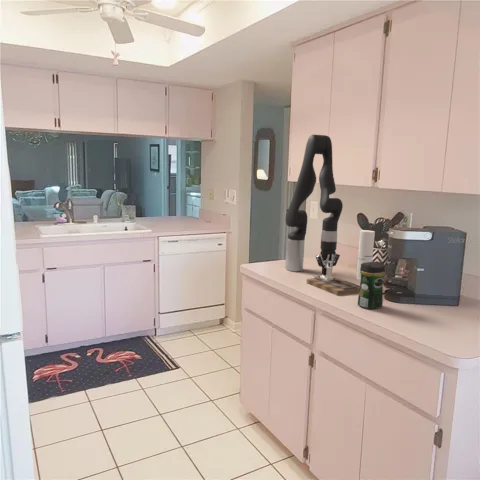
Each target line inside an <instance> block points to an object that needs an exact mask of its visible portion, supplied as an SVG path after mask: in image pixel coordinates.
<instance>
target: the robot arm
mask: <svg viewBox="0 0 480 480" xmlns="http://www.w3.org/2000/svg"><path fill="white" fill-rule="evenodd" d="M316 155H321V156H322V159H323V162H322V165H321V169H320V172H319V176H318V182H319V183H318V184H319V188H320V200H319V209H320V210H321V212H322V213H324V214H329V216H328V217H325V218H323V219H322V225H321V226H322V227H321V235H320V254H318V255H315V258H316V263H317V265H318V267H321V276H322V275H324V276H326V270H327V268H326V267H327V266H328V267H332V268H333V267H335V266H337V263H338V261H339V259H340V256H341V255H340V254H338V253H336V250H337V246H338V245H337V244H338V225H339V219H340V217H341V214H342V211H343V207H344V206H343V201H342V200H341V199H340V198H338V197H330V195H333V194H334V193H336V190H337V188H336V183H335V177H334V170H333V143H332V139H331V137H330V136H328V135H326V134H325V135H324V134H311V135H309V137H308V139H307V142H306V145H305V150H304V156H303V161H302V165H301V168H300V172H299V175H298V178H297V180H296V184H295V189H294V192H293V196H292V199H291V201H290V204H289V206H288V208H287V211H286V214H285V224H286V226H287V227H289V228H295V229H294V230H293V231H291V232H289V233H288V234H287V242H286V243H287V246H286V247H287V248H286V252H285V267H284V268H285V269H286V271H289V272H302V271H304V258H305V240H306V239H305V238H306V236H307V228H308V227H307V226H308V214H307V211H306V210H304V209H300V208H301V206H302V204H303V203H304V202H305V201H306V200H307V199H308V198H309V197H310V196H312V194H313V192H314V190H315V186H316V183H317V174H316V172H315V171H316V170H315V167H314V160H315V157H316Z"/></svg>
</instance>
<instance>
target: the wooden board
mask: <svg viewBox="0 0 480 480" xmlns="http://www.w3.org/2000/svg"><path fill="white" fill-rule="evenodd" d="M320 276H321V275H316V276H314V278H313V277H311V278H307V279H306V284H308V285H311V286H313V287H316V288H318V289H320V290H322V291H326V292H328V293H330V294H333V295H335V296H341V295H347V294H348V295H349V294H355V293H359V291H360V285H359V284H357V283H356V284H355V283H353V282H350V281H347V280H344V279H342V278H339V277H336V276H333V275H331V277H332V278H333V280H331V281H327V280H324V279H322V278H320Z"/></svg>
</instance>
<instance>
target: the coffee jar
mask: <svg viewBox="0 0 480 480" xmlns="http://www.w3.org/2000/svg"><path fill="white" fill-rule="evenodd" d="M360 273H361V280H360V285H359V286H360V291H359V292H358V298H357V305H358V306H359V307H360V308H363V309H368V310H373V309H375V310H376V309H379V308H382V306H383V304H384V301H383V300H384V299H383V298H384V297H383V292H384V291H383V290H384V289H383V288H384V286H383V285H384V277H385V273H386V265H385V263H383V262H380V261H378V260H377V261H372V262H366V263H362V264H361V268H360Z"/></svg>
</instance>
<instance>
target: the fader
mask: <svg viewBox="0 0 480 480" xmlns="http://www.w3.org/2000/svg"><path fill="white" fill-rule="evenodd" d="M326 268H327V270H326V276H324V275H322V274H321V275H319V276H320V278H322V279H324V280H327V281H331V280H333V278H332V277H331V276H332V273H333V267H328V265H327V267H326Z"/></svg>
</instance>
